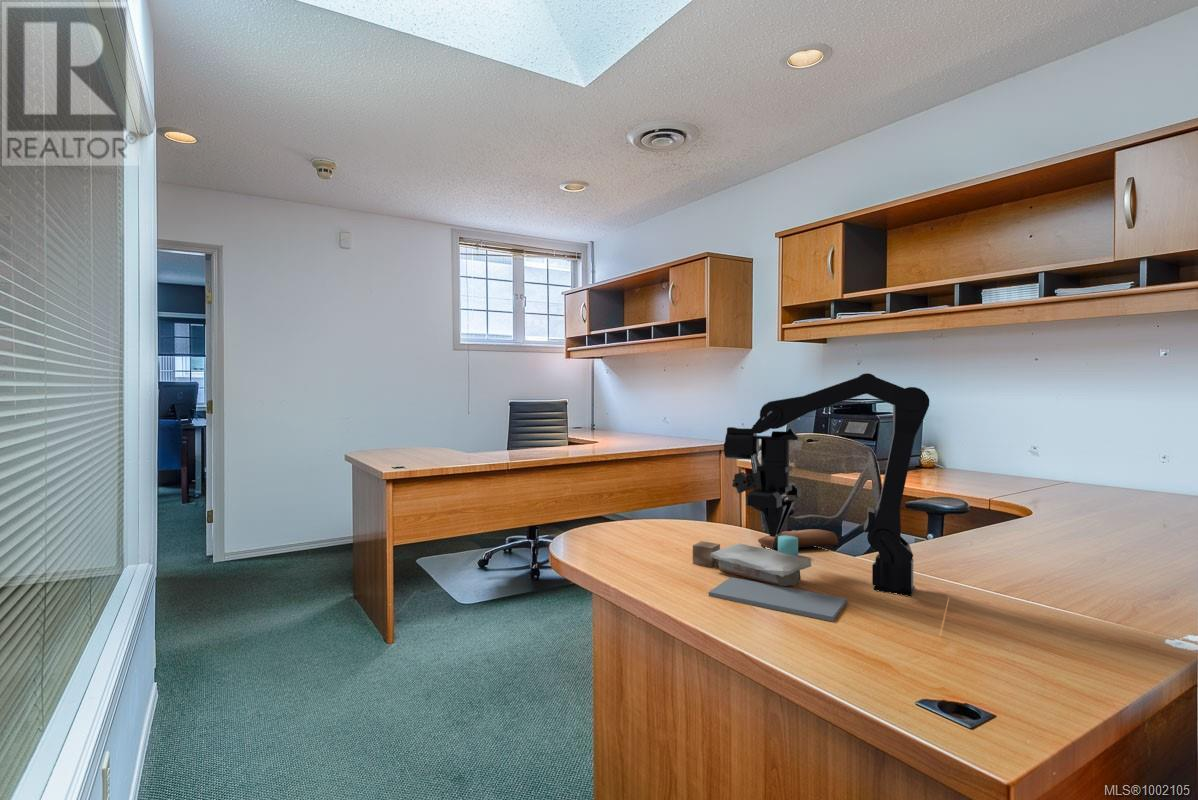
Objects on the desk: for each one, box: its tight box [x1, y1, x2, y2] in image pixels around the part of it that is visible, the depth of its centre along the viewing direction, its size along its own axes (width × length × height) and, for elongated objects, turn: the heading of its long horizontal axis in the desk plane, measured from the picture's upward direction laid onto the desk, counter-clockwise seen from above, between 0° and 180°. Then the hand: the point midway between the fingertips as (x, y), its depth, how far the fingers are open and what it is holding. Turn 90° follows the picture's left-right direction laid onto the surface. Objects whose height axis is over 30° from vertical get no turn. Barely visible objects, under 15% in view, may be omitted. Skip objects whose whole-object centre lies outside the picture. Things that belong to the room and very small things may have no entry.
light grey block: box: [710, 542, 812, 587], centre depth 121 cm, size 18×5×10 cm
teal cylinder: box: [778, 535, 799, 557], centre depth 137 cm, size 4×4×4 cm
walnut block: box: [692, 540, 721, 568], centre depth 131 cm, size 4×4×4 cm
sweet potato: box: [757, 528, 839, 551], centre depth 145 cm, size 18×7×7 cm
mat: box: [708, 576, 848, 622], centre depth 108 cm, size 22×11×1 cm, turn 56°
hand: (774, 535), depth 123 cm, fingers closed
